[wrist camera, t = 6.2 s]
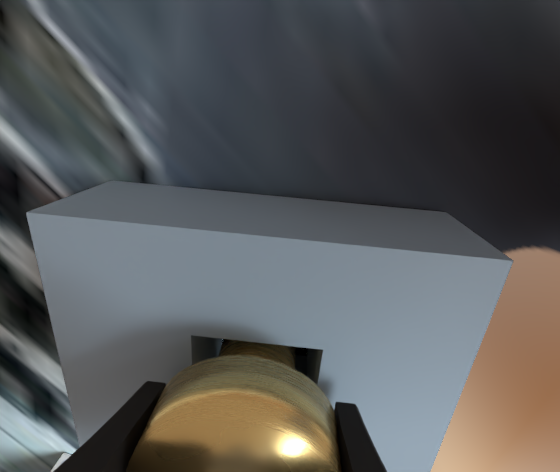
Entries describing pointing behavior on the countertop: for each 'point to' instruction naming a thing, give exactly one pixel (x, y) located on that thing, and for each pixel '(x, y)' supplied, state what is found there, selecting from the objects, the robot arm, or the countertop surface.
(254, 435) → the brass door knob
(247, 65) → the countertop surface
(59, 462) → the light bulb box
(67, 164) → the countertop surface
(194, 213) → the block
